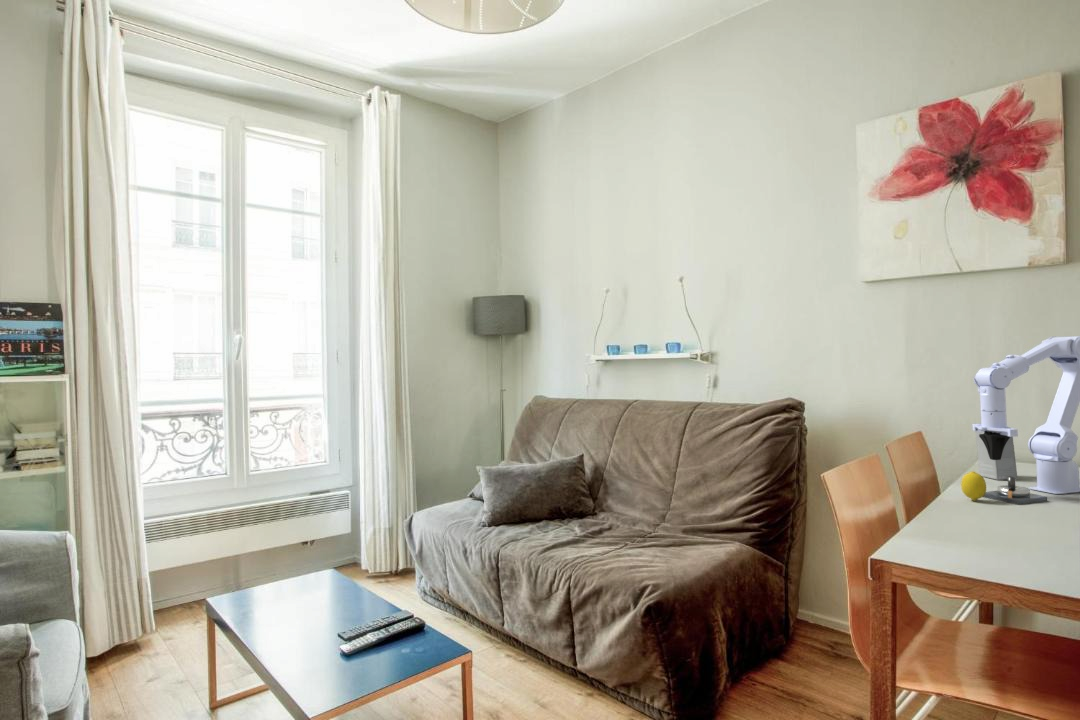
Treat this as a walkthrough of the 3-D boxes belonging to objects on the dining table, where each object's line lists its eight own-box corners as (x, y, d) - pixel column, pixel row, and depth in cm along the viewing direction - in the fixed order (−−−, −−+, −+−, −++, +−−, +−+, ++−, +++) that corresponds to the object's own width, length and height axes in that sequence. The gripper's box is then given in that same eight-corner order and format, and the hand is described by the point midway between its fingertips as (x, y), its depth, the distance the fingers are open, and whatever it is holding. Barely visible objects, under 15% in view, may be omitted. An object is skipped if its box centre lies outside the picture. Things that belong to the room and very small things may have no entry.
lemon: (978, 498, 167) (977, 469, 167) (991, 503, 162) (990, 473, 162) (957, 498, 168) (956, 469, 168) (969, 503, 162) (968, 473, 162)
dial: (991, 492, 168) (990, 474, 168) (1010, 489, 170) (1009, 471, 170) (1017, 497, 161) (1016, 478, 161) (1036, 495, 163) (1036, 476, 163)
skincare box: (1018, 480, 188) (1016, 428, 188) (994, 480, 189) (992, 429, 189) (998, 474, 197) (996, 425, 197) (975, 475, 197) (974, 426, 197)
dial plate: (1010, 493, 172) (1009, 482, 172) (1047, 501, 162) (1046, 489, 162) (981, 496, 169) (981, 485, 169) (1017, 504, 159) (1017, 493, 160)
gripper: (961, 409, 178) (963, 456, 178) (998, 413, 164) (1000, 464, 164) (985, 408, 178) (987, 455, 178) (1024, 412, 163) (1026, 463, 163)
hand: (995, 459), depth 171 cm, fingers closed
